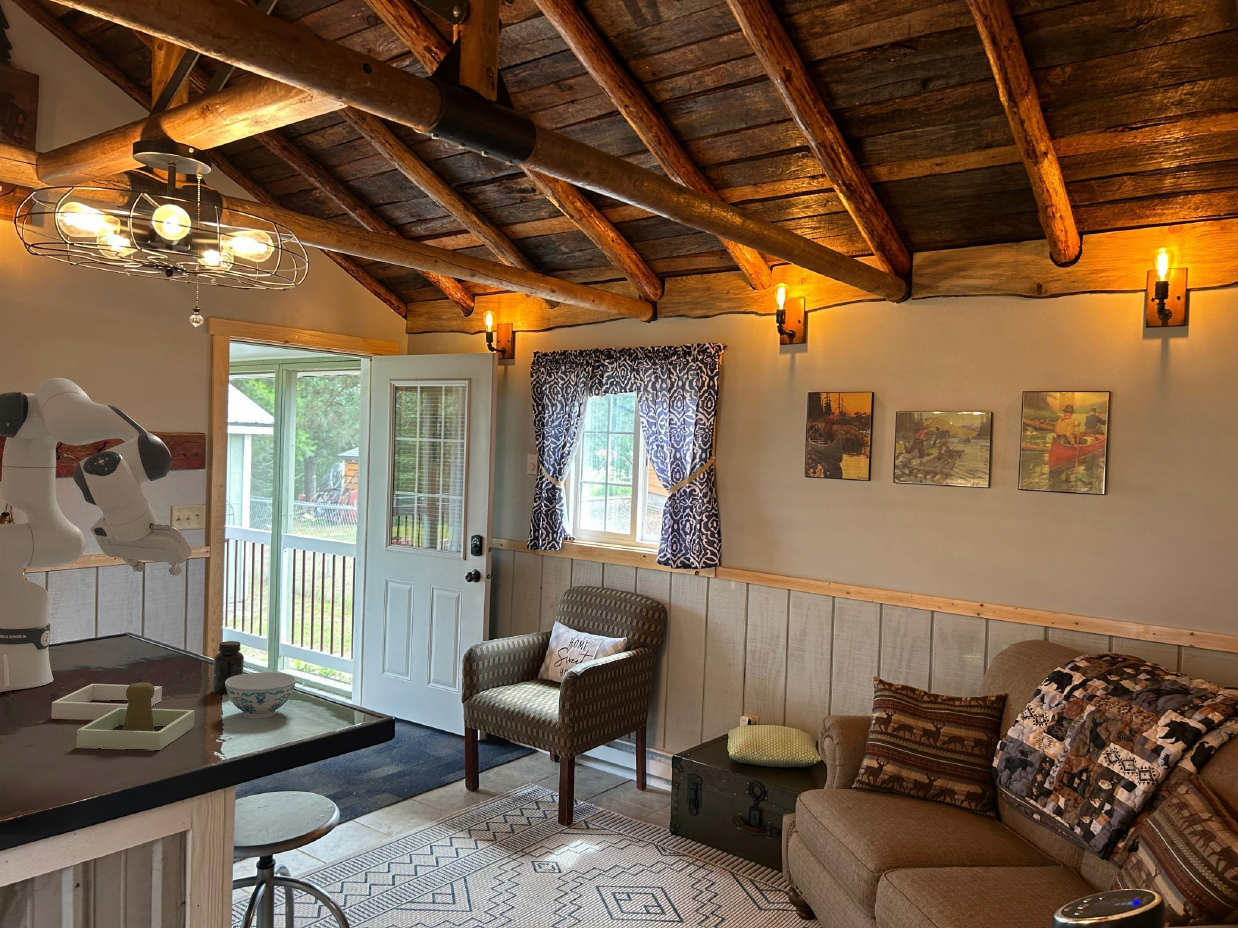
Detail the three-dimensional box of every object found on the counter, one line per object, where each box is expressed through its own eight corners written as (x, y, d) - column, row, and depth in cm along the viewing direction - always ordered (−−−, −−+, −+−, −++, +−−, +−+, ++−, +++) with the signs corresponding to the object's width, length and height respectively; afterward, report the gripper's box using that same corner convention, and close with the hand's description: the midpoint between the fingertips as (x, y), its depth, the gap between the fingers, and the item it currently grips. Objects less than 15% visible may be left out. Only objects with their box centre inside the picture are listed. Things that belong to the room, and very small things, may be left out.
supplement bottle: (205, 692, 221) (208, 643, 221) (227, 686, 227) (229, 638, 227) (227, 696, 218) (229, 646, 218) (248, 690, 225) (251, 641, 224)
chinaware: (272, 701, 216) (274, 669, 216) (307, 714, 206) (309, 681, 206) (210, 712, 204) (212, 678, 204) (244, 727, 195) (246, 692, 195)
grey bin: (51, 718, 194) (52, 702, 194) (91, 698, 210) (92, 683, 210) (127, 721, 195) (128, 704, 195) (161, 701, 211) (162, 686, 211)
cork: (140, 742, 182) (143, 688, 182) (114, 739, 183) (117, 685, 183) (161, 734, 188) (163, 681, 188) (135, 731, 189) (137, 678, 189)
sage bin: (76, 747, 177) (77, 729, 177) (117, 723, 193) (118, 707, 193) (159, 750, 178) (160, 732, 178) (194, 726, 194) (194, 710, 194)
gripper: (184, 516, 190) (207, 566, 198) (103, 510, 195) (129, 558, 203) (165, 535, 185) (190, 585, 193) (83, 528, 190) (110, 577, 198)
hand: (158, 571), depth 198 cm, fingers open, 8 cm apart
